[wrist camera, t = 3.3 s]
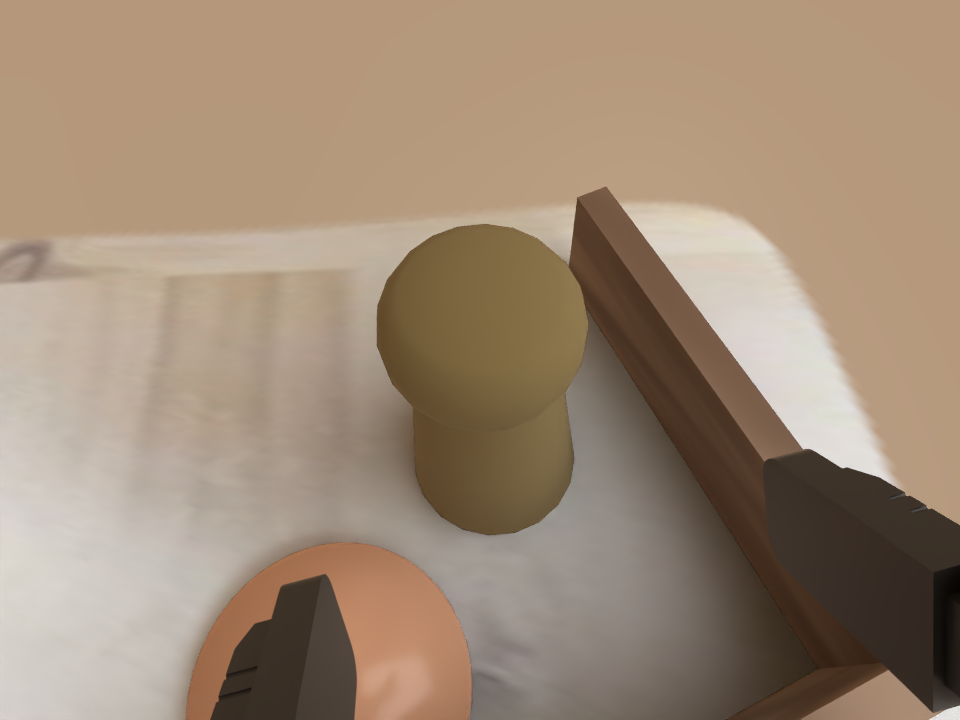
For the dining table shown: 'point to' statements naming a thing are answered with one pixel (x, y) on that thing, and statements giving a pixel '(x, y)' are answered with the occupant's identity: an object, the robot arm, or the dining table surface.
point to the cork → (486, 372)
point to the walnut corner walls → (722, 451)
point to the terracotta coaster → (359, 634)
